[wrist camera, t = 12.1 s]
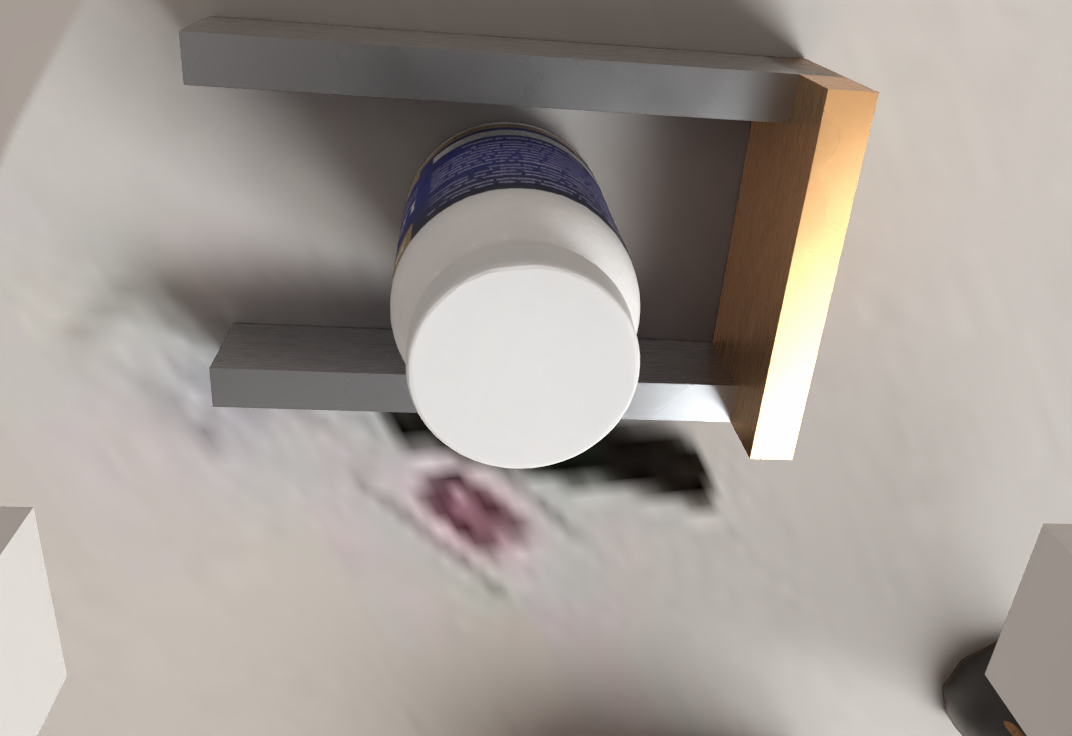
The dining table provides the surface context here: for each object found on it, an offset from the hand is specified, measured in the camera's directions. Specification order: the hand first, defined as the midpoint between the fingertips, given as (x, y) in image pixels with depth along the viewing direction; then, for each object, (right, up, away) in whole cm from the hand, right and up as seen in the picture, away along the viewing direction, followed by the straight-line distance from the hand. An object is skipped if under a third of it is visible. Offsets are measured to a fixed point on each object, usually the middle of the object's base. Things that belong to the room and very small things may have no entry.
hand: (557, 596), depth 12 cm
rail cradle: (-1, +8, +15) cm, 17 cm away
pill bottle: (-1, +8, +15) cm, 17 cm away
